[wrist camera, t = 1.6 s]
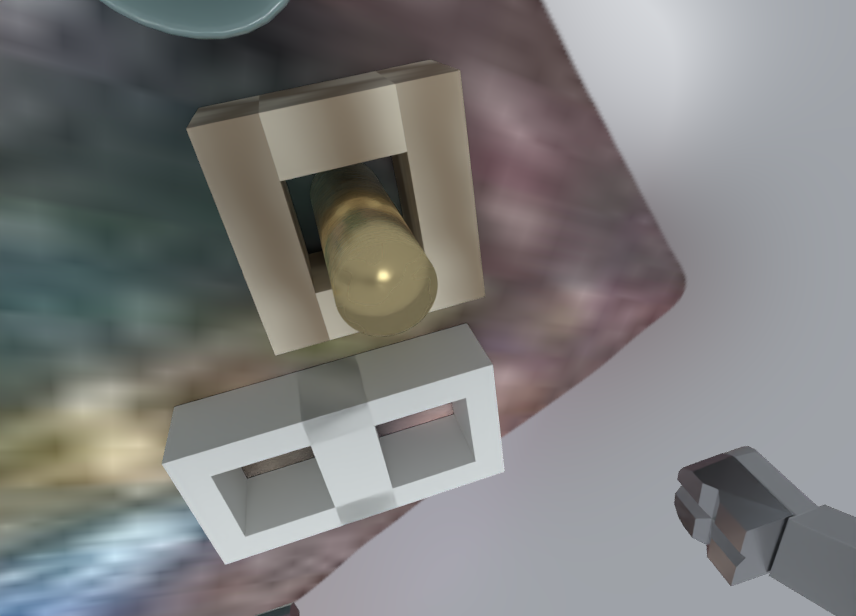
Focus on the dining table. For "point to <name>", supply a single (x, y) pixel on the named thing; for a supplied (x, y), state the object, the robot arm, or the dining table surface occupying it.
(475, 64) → the dining table surface
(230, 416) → the rack
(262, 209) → the socket block
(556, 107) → the dining table surface
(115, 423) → the dining table surface
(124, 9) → the cup
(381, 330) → the brass peg
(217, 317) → the dining table surface
